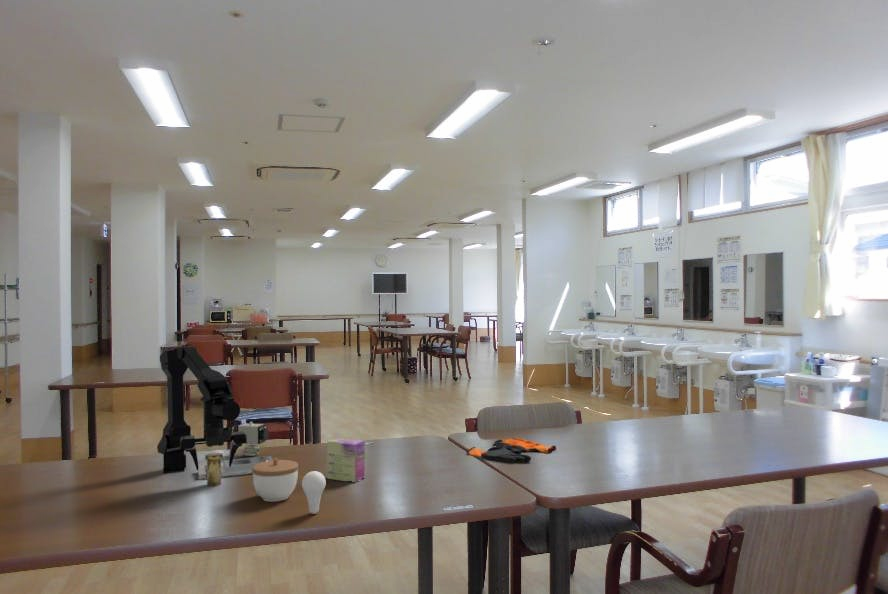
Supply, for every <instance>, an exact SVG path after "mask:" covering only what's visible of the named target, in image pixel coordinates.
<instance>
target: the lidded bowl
mask: <svg viewBox="0 0 888 594" xmlns="http://www.w3.org/2000/svg"><path fill="white" fill-rule="evenodd" d="M272 459H273V460H272V461H265V462H261V463H258V464H256V465H254V466H253V467H252V472H253V474H252V483H253V486H254V489H255V492H256V494H257V495H258V496H259V497H261V498H262V500H263V502H264V501H265V502H270V503H271V502H275V503H276V502H281V501H285V500H287V499H289V497H290V495H291V494H292V493H293V492H294V490H295V489H296V486H297V483H298V477H299V463H298V462H296V461H294V460H291V459H290V460H288V459H278V458H277V457H275V458H272Z"/></svg>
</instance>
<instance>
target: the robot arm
mask: <svg viewBox="0 0 888 594" xmlns="http://www.w3.org/2000/svg"><path fill="white" fill-rule="evenodd" d="M159 361H160V362H159V363H160V366H161V370H162V372H163V373H164V374H165V376H166V383H167V385H166V386H167V387H166V389H167V390H166V391H167V422H166V424H165V426H164V427H163V429H162V436H161V438H160V440H159V442H158V444H157V446H156V448H157V453H158V454H161V455H162V456H163V459H162V460H163V465H162V466H163V467H162V473H163V474H167V473H176V472H178V473H179V472H184V471H185V470H186V468H187V453H185V452H188V453H189V454H190V455H191V457H192V460H193V463H194V466H195V469H196V471H198V468H199V459H198V455H197V448H196V445H206V447H209V448H212V447H215V446H216V447H217V446H219V447H222V446H223V445H225V443H229V442H230V445H229V454H228V456H229V457H228V460H229V467H231V464H232V461H233V460H234V459H235V458H234V457H235V454H236V453H237V451H238V449H239V448H241V447H243V444H245V443H247V436H246V434H245V432H243V431H239V432H234V431H231V427H224V421H228V422H233V421H235V420H236V419H237V418H238V417H239V416H240V413H241V408H240V405H239V403H237V402H236V401H235V397H234V395H233V391H232V388H231V386H230V385H229V382H228V380H227V378H226V377H225V375H224V374H223V373H221V372H220V371H218V370H214V369H212V367H211V366H209V364H208V363H207V362H206V360H205V359H204V358H203V357H202V356H201V354H200V353H199V352H198V349H197V348H196V346H194V345H186V346H185V345H184V346H179V347H177V348H175V349H173V348H172V349H164V350H163V351H162V353H161V354H160V355H159ZM188 369H189V370H190V372H191V373H192V374H193V375H194V377H195V378H196V379H197V387H198V390H199V392H200V393H201V395H202V396H201V398H200V400H199V401H200V402H203V407H202V408H203V437H197V438H196V437H195V435H192V433H191V431H192V427H191V425H188V424H187V421H185V403H184V401H185V400H184V399H185V398H184V394H185V393H184V375H185V374H186V373H187V370H188Z"/></svg>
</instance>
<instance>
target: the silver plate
mask: <svg viewBox="0 0 888 594" xmlns="http://www.w3.org/2000/svg"><path fill="white" fill-rule="evenodd" d="M273 459H274V458H272V456H271V455H260V456H252V457H246V458H245V457H244V458H243V457H242V458H236V459H235V458H233V461H232V464H231V467H229V459H227V460H226V459H225V460H223V464H221V478H225V477H235V476H241V475H243V476H244V475H253V472H252V467H253V466H254V465H256V464H258V463H261V462H265V461H272V460H273ZM197 476H198V480H199V481H200V480H207V464H206V465H204V467H198V470H197Z"/></svg>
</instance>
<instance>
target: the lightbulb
mask: <svg viewBox="0 0 888 594" xmlns="http://www.w3.org/2000/svg"><path fill="white" fill-rule="evenodd" d="M301 480H302V481H301V487H302V490H303V492H304V493H305V496H306V499H307V504H308V511H309V513H311V514H312V515H315V514H317V513H318V512H319V510H320V503H321V497H322V494H323V492H324V490H325V487H326V485H327V483H326V482H327V481H326V477H325V476H324V474H323V473H322V472H320V471H316V470H312V471H309V472H307V473H306V474H305V475H304V477H303V478H302V479H301Z"/></svg>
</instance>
